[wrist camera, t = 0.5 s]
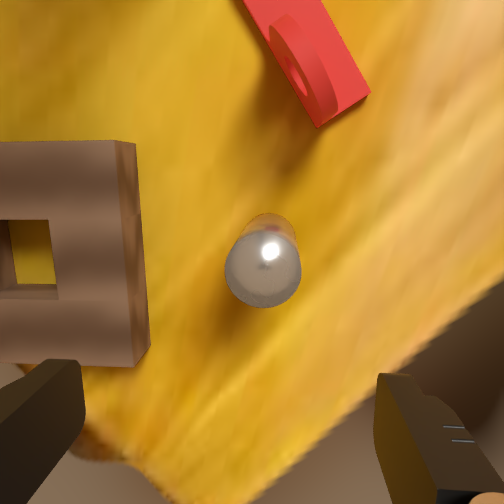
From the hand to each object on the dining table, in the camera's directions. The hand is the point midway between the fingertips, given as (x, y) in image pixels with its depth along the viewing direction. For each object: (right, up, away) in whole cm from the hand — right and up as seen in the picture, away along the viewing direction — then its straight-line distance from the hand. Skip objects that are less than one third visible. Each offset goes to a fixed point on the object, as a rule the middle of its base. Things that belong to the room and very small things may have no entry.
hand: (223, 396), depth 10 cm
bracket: (+5, +20, +18) cm, 27 cm away
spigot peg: (+2, +5, +22) cm, 22 cm away
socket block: (-18, +4, +23) cm, 30 cm away
